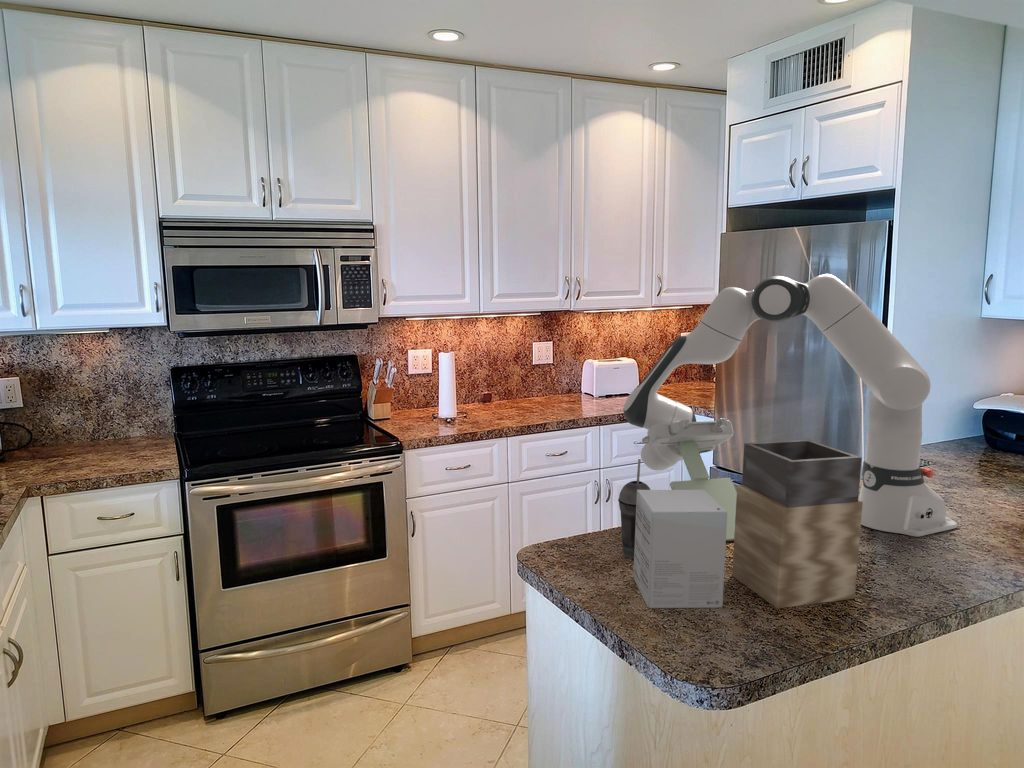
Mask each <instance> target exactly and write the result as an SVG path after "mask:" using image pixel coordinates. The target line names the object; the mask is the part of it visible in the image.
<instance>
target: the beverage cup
mask: <svg viewBox="0 0 1024 768" xmlns="http://www.w3.org/2000/svg"><path fill="white" fill-rule="evenodd" d="M641 461H642V459H641V458H638V460H637V470H636V471H637V472H636V473H637V474H636V480H632V481H630V482H627V483H626V484H624V486H623V487H622V488H621V490H620V492H619V495H618V499H617V500H618V505H619V510H620V525H621V528H620V529H621V546H622V552H623V553H622V554H623V556H624V557H625V558H628V559H632V560H634V549H635V526H636V502H637V490H652V489H651V487H649V485H648V484H646V483H645V482H643V481H640V473H641V463H642V462H641Z"/></svg>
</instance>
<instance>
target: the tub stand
mask: <svg viewBox="0 0 1024 768" xmlns="http://www.w3.org/2000/svg"><path fill="white" fill-rule="evenodd" d="M743 444H744V445H743V461H742V462H743V463H742V478H741V484H737V485H736V492H737V498H736V515H735V532H734V541H733V554H732V566H731V567H732V570H731V576H732V577H733V578H735V579H736V580H737V581H739V582H740V583H741V584H743V585H744V586H745V587H747V588H748V589H749V590H751V591H752V592H754V593H755V594H757V596H758V597H759V596H760V597H761V598H762V599H763V600H764V601H766V602H768V603H769V604H770V605H771V606H773V607H775V609H782V608H783V609H784V608H789V607H796V606H797V607H798V606H805V605H813V604H822V603H831V602H837V601H838V602H839V601H844V600H845V601H846V600H853V599H855V598H856V597H855V596H856V587H857V586H856V585H857V573H858V564H859V550H860V540H861V538H860V537H861V528H862V525H861V517H862V506H863V501H860V500H859V495H860V483H861V474H862V459H863V457H862V456H858V455H856V454H853V453H850V452H846V451H844V450H841V449H838V448H835V447H832V446H829V445H826V444H823V443H820V442H817V441H814V440H811V439H797V440H796V439H795V440H794V439H793V440H782V441H781V440H780V441H777V440H776V441H764V442H763V441H762V442H761V441H760V442H758V441H757V442H746V443H745V442H744V443H743Z"/></svg>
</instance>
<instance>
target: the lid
mask: <svg viewBox="0 0 1024 768" xmlns="http://www.w3.org/2000/svg"><path fill="white" fill-rule="evenodd" d="M679 446H680V447H679V450H680V452H681V455H682V457H683V460H682V461H683V463H684V465H685V468H686V470H687V473H688V475H689V478H690V479H689V480H688V479H687V480H677V481H676V480H675V481H671V482H670V483H669V487H670V490H705V491H706V492H707V493H708V494H709V495H710V496H711V497H712V498H713V499H714V500H715V501H716V502H718V503H719V504H720V505H721V506H722V507H723V508H724V509H725V510H726V511H727V528H726V542H732V541H733V542H734V532H735V515H736V498H737V489H736V488H735V485H734V483H733V481H732V478H731V477H719V478H710V475H709V473H708V471H707V467H706V465H705V462H704V461H703V459H702V455H701V453H699V450H698V448H697V446H696V443H695V441H681V442H680V444H679Z"/></svg>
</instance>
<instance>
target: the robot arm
mask: <svg viewBox="0 0 1024 768" xmlns="http://www.w3.org/2000/svg"><path fill="white" fill-rule="evenodd" d="M800 315H803V316H805V317H806V318H808V319H809V320H810V321H812V323H813V324H814V325H815V326H816V327H817V328H818V329H819V331H820V332H821V333H822V334H823V336H825V338H827V340H828V341H829V342H830V343H831V345H832V346H833V347H834V348H835V349H836V351H838V353H839V354H840V355H841V356H842V357H843V359H844V360H845V361H846V362H847V364H848V365H849V366H850V367H851V369H852V370H853V371H854V372H855V373H856V374H857V375H858V377H859V378H860V379H861V381H862V382H863V383H864V384H865V385H866V386H867V388H868V389H869V395H868V396H869V399H868V418H867V419H868V421H867V422H868V423H867V436H866V447H865V448H866V451H865V459H864V461H863V462H862V466H861V478H862V484H861V487H860V490H859V496H858V500H860V501H863V506H862V517H861V526H864V527H867V528H869V529H873V530H878V531H880V532H881V531H882V532H888V533H894V534H903V535H907V536H910V537H924V536H927V535H933V534H936V533H940V532H941V533H942V532H945V531H949V530H950V531H951V530H953V529H957V528H958V524H957V522H956V521H955V520H953V519H952V518H950V517H948V516H947V507H946V501H945V499H943V498H942V496H941V495H939V494H938V493H937V492H936V491H934V490H933V489H932V488H931V487H930V486H929V485H927V484H926V483H925V479H924V477H926V478H927V479H928V478H929V479H932V478H933V477H934V476H935V471H934V469H932V468H927V467H924V468H921V467H920V460H921V449H922V441H923V438H922V437H923V428H922V427H923V423H922V422H923V403H924V402H925V401H926V400H927V397H928V396H929V395H930V391H931V381H930V380H931V379H930V377H929V374H928V372H927V371H926V370H925V369H924V368H923V367H922V366H921V364H919V362H918V361H917V360H916V359H915V358H914V357H913V356H912V354H911V353H910V352H909V351H908V350H907V349H906V348H905V347H904V346H903V344H902V343H900V341H899V340H898V339H897V338H896V337H895V336H894V334H893V333H892V332H891V331H890V330H889V328H887V327H886V326H885V324H884V323H883V322H882V321H881V320H880V319H879V318H878V317H877V315H876V314H875V313H874V312H873V311H872V309H870V307H869V306H868V305H867V304H866V303H865V302H864V301H863V300H862V299H861V298H860V296H859V295H858V294H857V293H855V291H854V290H852V288H851V287H849V286H848V285H847V284H846V283H844V282H843V281H842V280H841V279H840V278H838V277H837V276H835V275H833V274H830V273H824V274H819V275H817V276H814V277H812V279H810V280H809V281H807V282H805V283H802V282H799V281H797V280H794V279H791V278H789V277H787V276H782V275H774V276H769V277H767V278H765V279H763V280H761V281H760V282H759V283H757V285H756V286H755V288H754V289H752V290H745V289H744V288H740V287H736V286H730V287H725V288H723V289H722V290H720V291H719V293H718V294H717V295H716V297H715V298H714V299H713V300H712V302H711V303H710V305H709V306H708V307H707V309H706V311H705V312H704V314H703V316H702V318H701V319H700V322H699V323H698V324H697V326H696V327H695V328H694V329H693V330H692V331H691V332H689V333H688V334H686V335H680V336H678V337H676V338H675V339H674V340H673V341H672V342H671V344H670V345H668V347H666V349H665V350H664V352H663V353H662V354H661V356H660V357H659V358H658V359H657V361H656V362H655V364H654V365H653V366H652V368H650V370H649V371H648V372H647V374H646V375H645V377H644V378H643V380H642V381H640V383H639V384H638V385H637V386H636V387H635V389H634V390H632V392H631V393H630V394H629V395H628V397H627V398H626V400H625V403H624V405H623V408H622V409H623V414H624V416H625V419H626V420H627V421H628V424H630V425H632V426H635V427H639V428H641V429H645V430H647V432H646V433H647V435H645V436H644V437H643V438H642V439H641V442H642V443H644V445H643V446H642V448H641V450H640V459H641V461H642V462H643V465H644V466H646V467H647V468H649V469H650V470H653V471H664V470H666V469H669V468H671V467H673V466H675V465H676V464H677V463H679V462H681V461H684V460H683V457H682V455H681V452H680V450H679V447H680V446H679V444H680V442H681V441H695V443H696V446H697V448H698V450H699V453H700V454H703V453H708V452H712V451H714V450H716V446H719V445H721V444H723V443H726V441H728V440H729V439H731V438H732V437H733V436H734V428H733V424H732V422H731V420H729V419H728V420H727V418H725V417H721V418H718V419H716V420H711V421H710V420H709V421H707V420H706V421H705V420H704V421H697V417H696V414H695V412H694V410H693V409H692V407H689V406H688V405H686V404H683V403H681V402H679V401H677V400H673V399H671V398H669V397H666V396H665V395H662V394H659V393H658V390H659V389H660V388H661V387H662V385H663V384H664V383H665V382H666V380H668V377H670V375H671V374H672V372H673V371H674V370H676V369H677V368H678V367H680V366H683V365H691V364H692V365H693V364H695V365H715V364H720V363H721V364H722V363H723V362H726V361H727V360H729V359H730V358H732V356H733V355H734V354H735V352H737V350H738V348H739V346H740V344H741V342H742V341H743V339H744V337H745V335H746V334H747V332H748V330H749V328H750V327H751V326H752V324H753V323H755V322H756V321H759V320H763V321H766V322H768V323H784V322H787V321H790V320H791V319H793V318H795V317H799V316H800Z"/></svg>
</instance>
